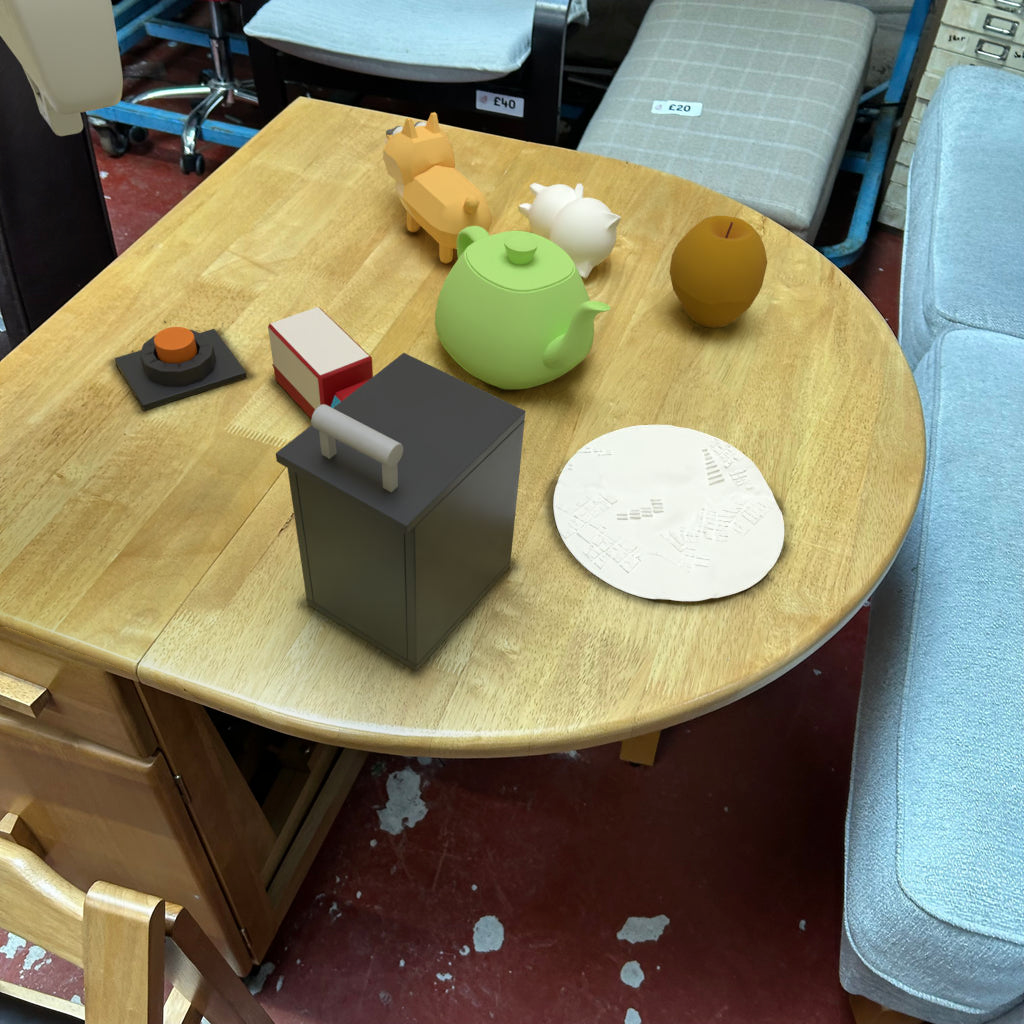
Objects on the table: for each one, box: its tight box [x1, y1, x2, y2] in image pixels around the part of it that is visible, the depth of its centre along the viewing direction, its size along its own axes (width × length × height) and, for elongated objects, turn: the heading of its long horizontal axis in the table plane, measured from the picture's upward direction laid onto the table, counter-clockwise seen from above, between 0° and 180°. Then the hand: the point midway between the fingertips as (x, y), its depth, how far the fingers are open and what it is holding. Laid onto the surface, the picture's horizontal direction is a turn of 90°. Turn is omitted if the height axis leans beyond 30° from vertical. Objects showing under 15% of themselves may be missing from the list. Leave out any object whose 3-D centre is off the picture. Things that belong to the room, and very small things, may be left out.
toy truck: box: [267, 306, 374, 419], centre depth 87 cm, size 6×15×7 cm, turn 38°
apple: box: [669, 215, 768, 328], centre depth 100 cm, size 10×10×12 cm
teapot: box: [434, 226, 612, 391], centre depth 92 cm, size 22×15×13 cm
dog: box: [382, 111, 493, 265], centre depth 107 cm, size 8×20×13 cm, turn 33°
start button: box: [154, 326, 197, 363], centre depth 90 cm, size 4×4×2 cm
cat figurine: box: [518, 182, 622, 279], centre depth 109 cm, size 9×11×12 cm
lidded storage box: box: [286, 419, 526, 672], centre depth 70 cm, size 13×11×16 cm
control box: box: [114, 328, 248, 411], centre depth 91 cm, size 10×8×2 cm
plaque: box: [552, 424, 785, 602], centre depth 83 cm, size 20×20×2 cm
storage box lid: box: [275, 352, 526, 534], centre depth 62 cm, size 13×11×5 cm
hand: (63, 125), depth 59 cm, fingers closed
